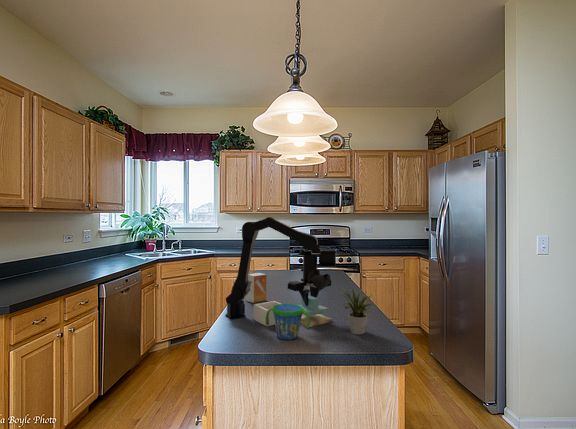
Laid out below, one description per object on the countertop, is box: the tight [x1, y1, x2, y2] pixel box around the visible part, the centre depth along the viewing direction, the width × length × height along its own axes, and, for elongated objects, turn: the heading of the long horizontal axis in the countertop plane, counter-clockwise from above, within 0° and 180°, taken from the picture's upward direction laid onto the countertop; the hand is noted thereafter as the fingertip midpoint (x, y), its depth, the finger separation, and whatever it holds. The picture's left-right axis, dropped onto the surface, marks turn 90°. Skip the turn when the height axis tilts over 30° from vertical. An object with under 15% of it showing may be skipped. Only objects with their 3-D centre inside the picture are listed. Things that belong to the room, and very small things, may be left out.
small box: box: [245, 272, 267, 304], centre depth 163 cm, size 8×6×13 cm
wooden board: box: [300, 313, 333, 328], centre depth 133 cm, size 13×12×1 cm
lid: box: [298, 294, 329, 316], centre depth 133 cm, size 10×10×6 cm
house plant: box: [340, 288, 376, 335], centre depth 120 cm, size 14×14×16 cm
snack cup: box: [265, 303, 310, 341], centre depth 115 cm, size 16×11×10 cm
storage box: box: [253, 300, 282, 327], centre depth 132 cm, size 10×10×6 cm
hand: (309, 305), depth 133 cm, fingers closed on lid, 3 cm apart
